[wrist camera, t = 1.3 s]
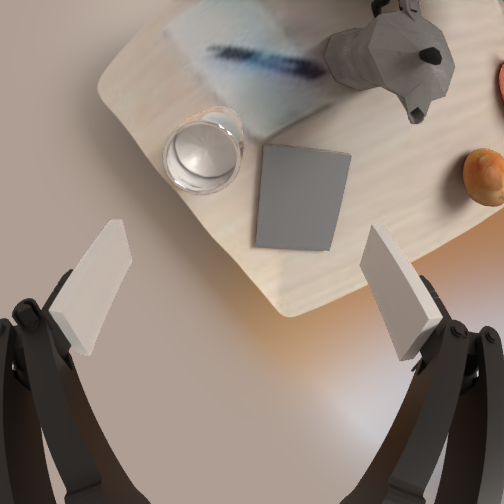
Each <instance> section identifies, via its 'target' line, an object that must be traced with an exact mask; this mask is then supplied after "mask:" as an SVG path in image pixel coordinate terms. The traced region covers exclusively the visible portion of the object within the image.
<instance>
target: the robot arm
mask: <svg viewBox="0 0 504 504" xmlns="http://www.w3.org/2000/svg"><path fill="white" fill-rule="evenodd" d="M499 1H502V2H504V0H499ZM131 263H132V256H131V253H130V249H129V245H128V241H127V236H126V232H125V228H124V224H123V219H112V220H110V221H109V222H108V223H107V224H106V226H105V227H104V228H103V229H102V231H101V232H100V233H99V235H98V236H97V237H96V239H95V240H94V241H93V243H92V244H91V246H90V247H89V248H88V250H87V251H86V253H85V254H84V255H83V257H82V258H81V260H80V261H79V263H78V264H77V266H76V267H75V269H74V270H72V269H70V270H69V271H68V272H67V273H66V274H64V275H63V276H62V278H61V279H60V281H59V282H58V285H57V286H56V287H55V289H54V292H52V293H51V295H50V297H49V298H48V300H47V302H46V303H45V305H44V307H43V308H42V310H40V308H39V306H38V305H37V303H36V301H35V300H33V299H31V298H28V299H24V300H22V301H21V302H20V303H18V304H17V306H15V308H14V310H13V312H12V317H13V318H14V320H15V321H16V323H17V324H18V325H17V326H13V325H12V324H11V323H10V321H9V320H8V319H6V318H2V319H0V504H56V501H55V497H54V494H53V490H52V486H51V482H50V478H49V473H48V469H47V464H46V459H45V453H44V447H43V440H42V432H41V427H42V430H43V433H44V436H45V439H46V442H47V445H48V448H49V450H50V453H51V455H52V458H53V460H54V462H55V465H56V467H57V470H58V472H59V474H60V476H61V478H62V480H63V483H64V485H65V487H66V490H67V493H66V495H65V497H64V499H65V504H151V503H150V502H149V501H148V499H147V498H146V497H145V496H144V495H143V494H141V493H140V492H139V491H138V490H137V489H136V488H135V487H134V485H133V484H132V482H131V481H130V479H129V478H128V476H127V474H126V473H125V471H124V470H123V468H122V466H121V465H120V463H119V461H118V460H117V458H116V456H115V455H114V453H113V451H112V449H111V448H110V446H109V444H108V442H107V440H106V438H105V436H104V434H103V432H102V430H101V428H100V426H99V424H98V422H97V420H96V418H95V416H94V413H93V412H92V409H91V407H90V404H89V402H88V400H87V397H86V395H85V393H84V390H83V387H82V385H81V382H80V380H79V377H78V374H77V371H76V369H75V366H74V363H73V360H72V357H71V355H70V353H69V352H68V351H69V349H70V347H71V346H72V347H73V349H74V350H75V352H76V353H78V354H82V355H87V356H91V353H92V351H93V348H94V345H95V343H96V340H97V338H98V335H99V333H100V331H101V328H102V326H103V323H104V321H105V319H106V316H107V314H108V312H109V309H110V307H111V305H112V303H113V301H114V299H115V296H116V294H117V292H118V290H119V288H120V286H121V284H122V281H123V280H124V277H125V275H126V273H127V271H128V269H129V267H130V265H131ZM360 267H361V269H362V271H363V274H364V276H365V278H366V280H367V282H368V284H369V286H370V289H371V291H372V293H373V296H374V298H375V300H376V303H377V305H378V307H379V309H380V312H381V314H382V317H383V319H384V321H385V324H386V326H387V329H388V331H389V334H390V337H391V339H392V342H393V345H394V347H395V350H396V352H397V355H398V358H399V361H404V360H409V359H413V358H414V357H415V356H416V355H417V353H418V352H419V351H420V353H421V355H422V358H421V359H420V360H419V362H418V363H417V364H416V365H415V366H414V367H413V369H412V370H411V371H414V370H415V369H416V371H415V373H414V376H413V379H412V381H411V384H410V386H409V389H408V391H407V394H406V396H405V398H404V401H403V403H402V405H401V407H400V410H399V412H398V414H397V416H396V418H395V420H394V422H393V424H392V426H391V428H390V430H389V432H388V434H387V436H386V438H385V440H384V442H383V443H382V445H381V447H380V449H379V451H378V452H377V454H376V456H375V458H374V459H373V461H372V463H371V464H370V466H369V468H368V469H367V471H366V472H365V474H364V475H363V477H362V479H361V480H360V482H359V483H358V485H357V486H356V487H355V489H354V490H353V491H352V492H351V493H350V494H349V495H348V496H346V497H345V498H344V499H343V500H342V501H341V502H340V504H425V502H426V500H425V499H424V497H423V493H424V490H425V488H426V486H427V484H428V482H429V480H430V477H431V475H432V473H433V471H434V468H435V466H436V464H437V461H438V459H439V456H440V454H441V451H442V449H443V446H444V443H445V441H446V438H447V435H448V442H447V448H446V454H445V460H444V465H443V470H442V475H441V480H440V484H439V488H438V492H437V496H436V499H435V503H434V504H500V503H501V499H502V493H503V488H504V355H503V349H502V344H501V339H500V337H499V334H498V333H497V331H495V329H493V328H492V327H490V326H485V327H483V328H482V329H481V331H480V332H479V333H473V332H468V329H467V328H466V327H465V325H464V324H462V323H461V322H459V321H457V320H452V319H451V317H450V315H449V313H448V312H447V310H446V308H445V306H444V305H443V303H442V301H441V300H440V298H439V296H438V295H437V293H436V292H435V290H434V288H433V286H432V285H431V283H430V282H429V281H428V280H427V279H426V278H425V277H424V276H422V275H420V276H418V274H417V272H416V271H415V269H414V268H413V266H412V265H411V263H410V262H409V260H408V259H407V257H406V256H405V254H404V253H403V251H402V250H401V248H400V247H399V245H398V244H397V243H396V241H395V240H394V238H393V237H392V236H391V234H390V233H389V231H388V230H387V229H386V227H385V226H384V225H375V224H372V225H371V229H370V233H369V236H368V240H367V243H366V246H365V250H364V253H363V256H362V259H361V263H360ZM12 364H13V365H14V370H12ZM478 370H479V376H478V377H477V373H476V372H477V371H478ZM448 432H449V433H448Z"/></svg>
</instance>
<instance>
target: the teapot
mask: <svg viewBox="0 0 504 504" xmlns="http://www.w3.org/2000/svg"><path fill="white" fill-rule="evenodd" d="M499 86H500V91H501V94H502V97H503V100H504V64H503V66H502V67H501V69H500V72H499Z"/></svg>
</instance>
